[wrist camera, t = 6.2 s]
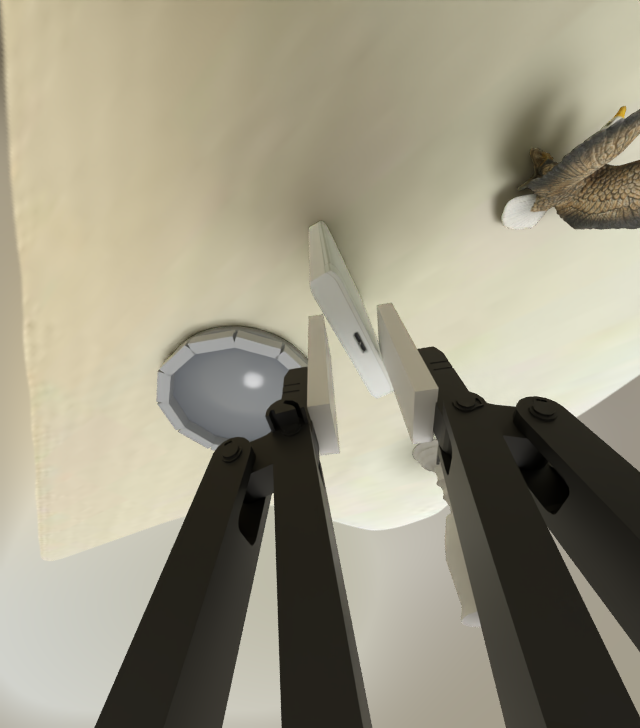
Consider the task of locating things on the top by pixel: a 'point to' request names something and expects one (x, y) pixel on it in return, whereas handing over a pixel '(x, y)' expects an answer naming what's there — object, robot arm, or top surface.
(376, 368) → the external hard drive
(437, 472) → the chalice
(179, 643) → the robot arm
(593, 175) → the eagle figurine
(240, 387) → the dish
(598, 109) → the top surface
